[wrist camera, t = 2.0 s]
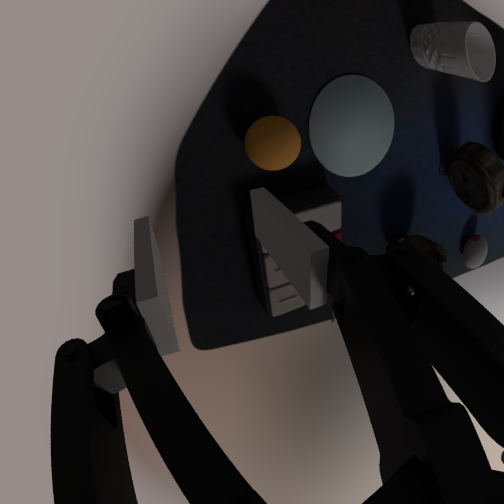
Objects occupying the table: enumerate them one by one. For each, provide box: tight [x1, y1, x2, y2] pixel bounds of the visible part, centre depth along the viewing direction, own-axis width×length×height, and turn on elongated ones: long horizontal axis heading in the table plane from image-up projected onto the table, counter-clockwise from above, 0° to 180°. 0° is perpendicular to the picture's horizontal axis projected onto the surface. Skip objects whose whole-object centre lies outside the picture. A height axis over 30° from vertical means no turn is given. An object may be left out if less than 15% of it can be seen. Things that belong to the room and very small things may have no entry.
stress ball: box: [459, 235, 487, 268], centre depth 55 cm, size 8×8×7 cm
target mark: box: [308, 75, 394, 177], centre depth 34 cm, size 13×13×1 cm
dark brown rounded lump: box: [393, 235, 447, 269], centre depth 44 cm, size 8×7×8 cm
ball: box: [245, 116, 301, 170], centre depth 30 cm, size 6×6×6 cm
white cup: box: [410, 21, 496, 82], centre depth 27 cm, size 8×8×10 cm
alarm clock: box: [439, 140, 504, 215], centre depth 36 cm, size 11×5×16 cm, turn 32°
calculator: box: [244, 185, 343, 317], centre depth 39 cm, size 11×4×15 cm
